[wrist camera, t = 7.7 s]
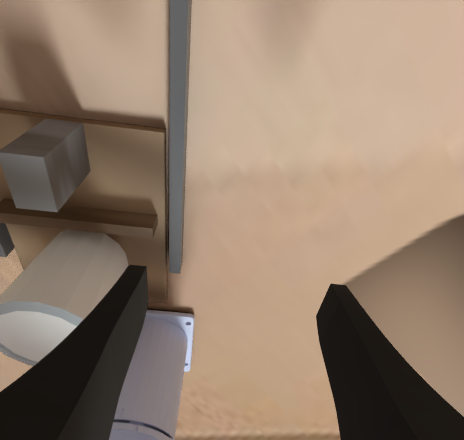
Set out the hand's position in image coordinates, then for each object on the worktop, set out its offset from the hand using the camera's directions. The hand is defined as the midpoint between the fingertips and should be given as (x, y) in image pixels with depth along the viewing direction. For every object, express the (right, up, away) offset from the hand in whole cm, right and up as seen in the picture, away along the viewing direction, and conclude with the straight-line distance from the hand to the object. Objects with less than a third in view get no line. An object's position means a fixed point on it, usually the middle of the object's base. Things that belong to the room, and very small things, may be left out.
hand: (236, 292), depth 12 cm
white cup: (-11, 0, +11) cm, 16 cm away
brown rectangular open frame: (-10, +3, +10) cm, 15 cm away
